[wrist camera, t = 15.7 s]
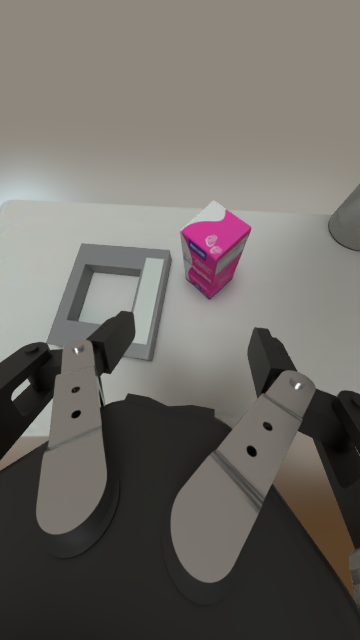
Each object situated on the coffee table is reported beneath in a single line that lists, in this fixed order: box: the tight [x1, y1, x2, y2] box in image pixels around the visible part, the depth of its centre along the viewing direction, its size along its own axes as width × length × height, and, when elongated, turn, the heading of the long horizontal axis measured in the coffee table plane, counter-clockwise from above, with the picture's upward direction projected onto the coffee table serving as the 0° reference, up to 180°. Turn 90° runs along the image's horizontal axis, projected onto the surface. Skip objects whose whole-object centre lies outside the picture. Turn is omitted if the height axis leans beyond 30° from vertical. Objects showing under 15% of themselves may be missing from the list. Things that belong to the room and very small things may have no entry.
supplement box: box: [180, 201, 251, 299], centre depth 25 cm, size 6×6×12 cm
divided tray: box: [46, 244, 171, 361], centre depth 29 cm, size 16×18×3 cm
